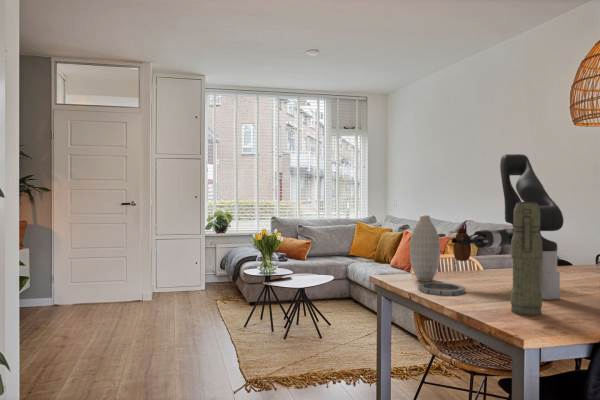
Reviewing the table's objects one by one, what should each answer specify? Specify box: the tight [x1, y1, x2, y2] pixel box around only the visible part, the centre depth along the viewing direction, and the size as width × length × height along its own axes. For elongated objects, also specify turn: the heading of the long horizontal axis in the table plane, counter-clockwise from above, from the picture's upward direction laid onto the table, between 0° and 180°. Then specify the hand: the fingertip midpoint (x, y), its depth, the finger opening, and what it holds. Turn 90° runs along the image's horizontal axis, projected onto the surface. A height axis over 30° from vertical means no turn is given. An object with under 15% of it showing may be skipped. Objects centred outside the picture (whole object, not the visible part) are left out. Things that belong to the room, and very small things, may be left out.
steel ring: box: [417, 282, 466, 296], centre depth 184 cm, size 17×17×2 cm
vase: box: [409, 214, 441, 282], centre depth 207 cm, size 13×13×28 cm
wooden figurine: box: [452, 223, 472, 262], centre depth 192 cm, size 7×6×15 cm
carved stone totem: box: [510, 201, 543, 317], centre depth 150 cm, size 9×12×35 cm
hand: (457, 240), depth 191 cm, fingers closed on wooden figurine, 4 cm apart
